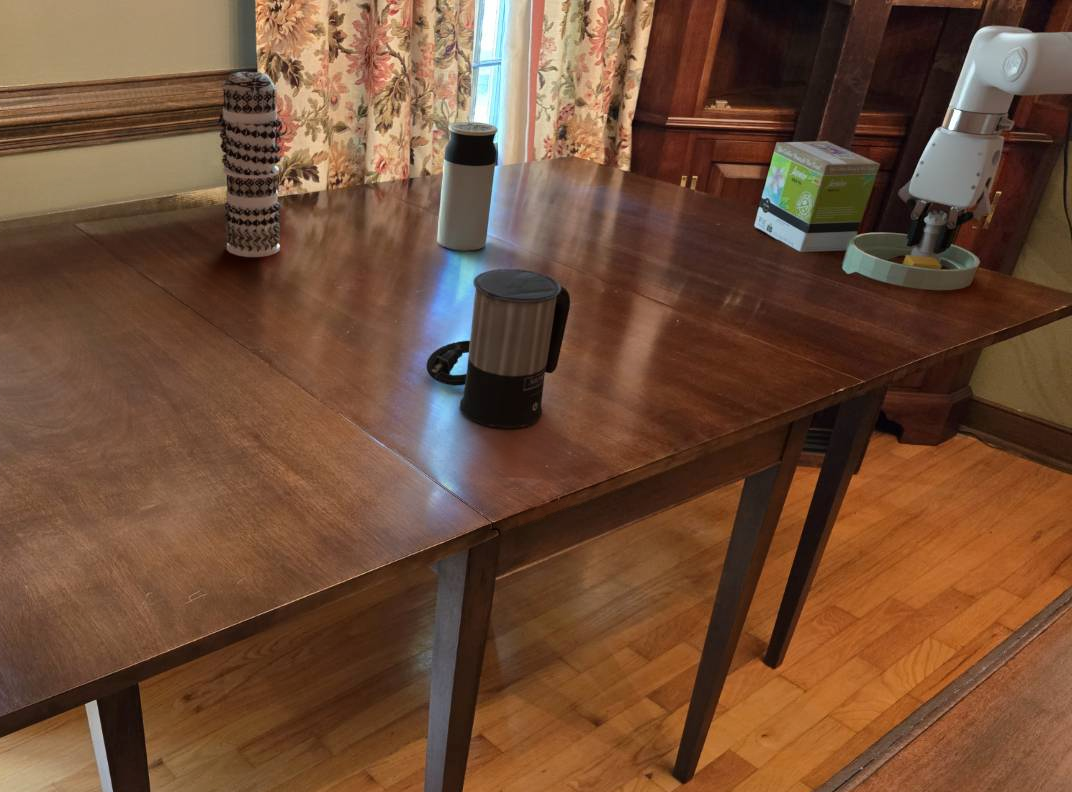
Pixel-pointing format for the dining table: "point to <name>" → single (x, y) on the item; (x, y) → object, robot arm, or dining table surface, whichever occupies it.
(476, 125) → the travel mug
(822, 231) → the tea box
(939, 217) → the rook chess piece
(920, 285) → the pale green round tray
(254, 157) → the decorative candle
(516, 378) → the milk frother
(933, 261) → the decorative block
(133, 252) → the dining table surface
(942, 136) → the robot arm
